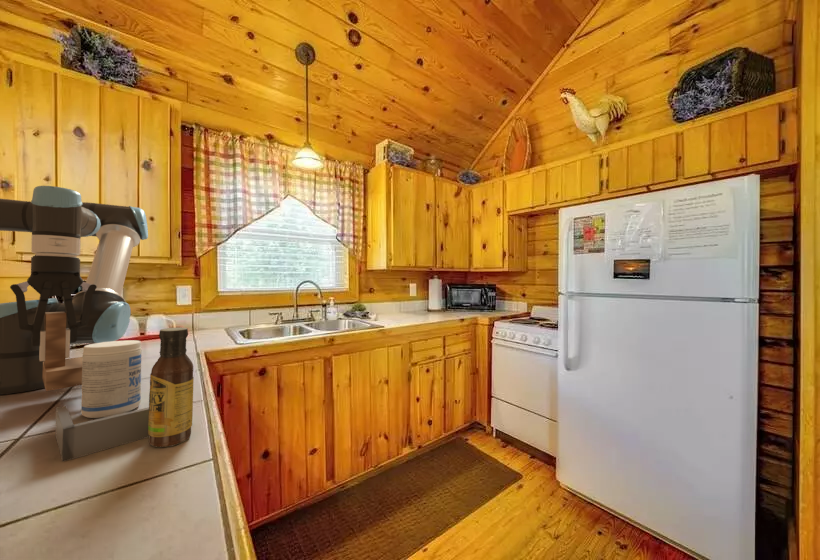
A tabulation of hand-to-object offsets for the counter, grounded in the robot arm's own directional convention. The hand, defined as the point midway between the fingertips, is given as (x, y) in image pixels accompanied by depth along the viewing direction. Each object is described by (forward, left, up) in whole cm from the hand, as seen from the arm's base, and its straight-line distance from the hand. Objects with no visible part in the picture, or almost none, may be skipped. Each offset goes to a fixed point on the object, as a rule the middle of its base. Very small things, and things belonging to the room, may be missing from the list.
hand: (54, 358), depth 73 cm
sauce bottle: (+40, +12, -11) cm, 44 cm away
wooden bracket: (0, +4, -6) cm, 7 cm away
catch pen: (+28, +8, -11) cm, 31 cm away
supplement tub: (+14, +8, -11) cm, 20 cm away
